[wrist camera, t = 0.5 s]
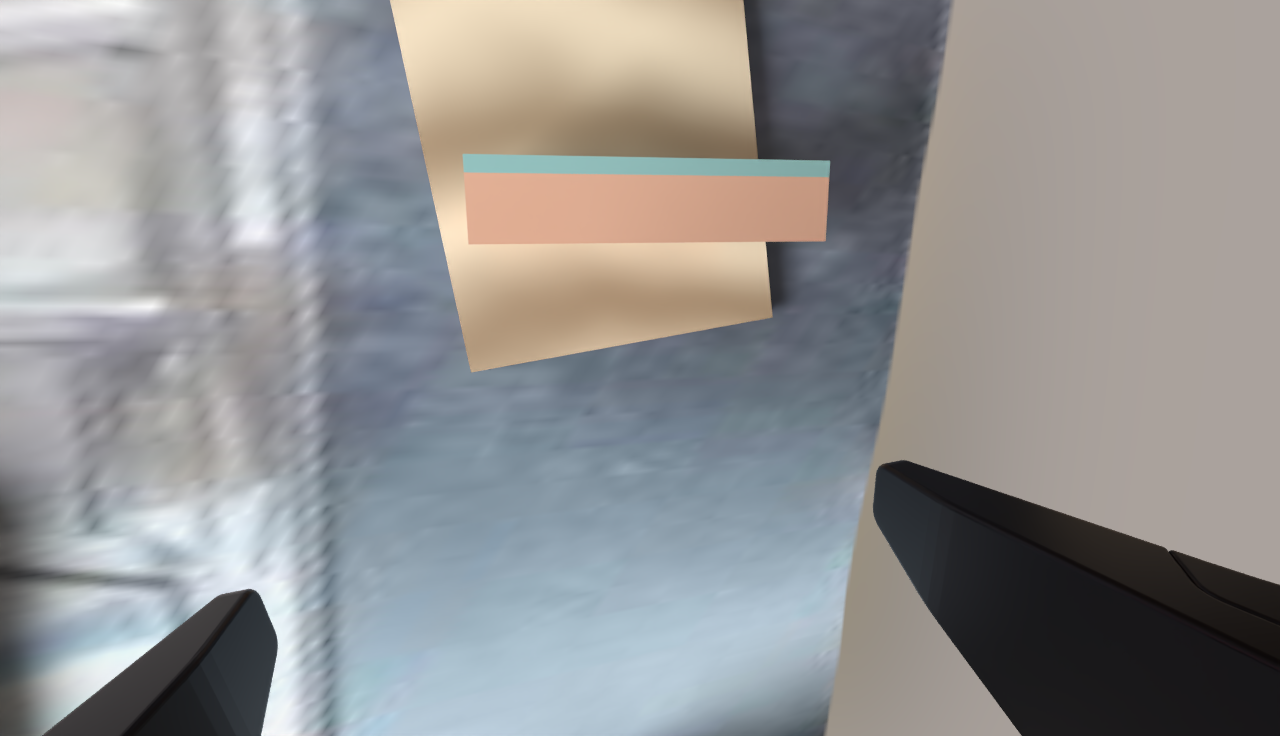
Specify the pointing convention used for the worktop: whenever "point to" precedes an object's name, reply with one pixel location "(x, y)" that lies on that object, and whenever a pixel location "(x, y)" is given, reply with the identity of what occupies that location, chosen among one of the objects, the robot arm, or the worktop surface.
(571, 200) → the terracotta tile
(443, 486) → the worktop surface
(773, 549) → the worktop surface
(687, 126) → the beech board
